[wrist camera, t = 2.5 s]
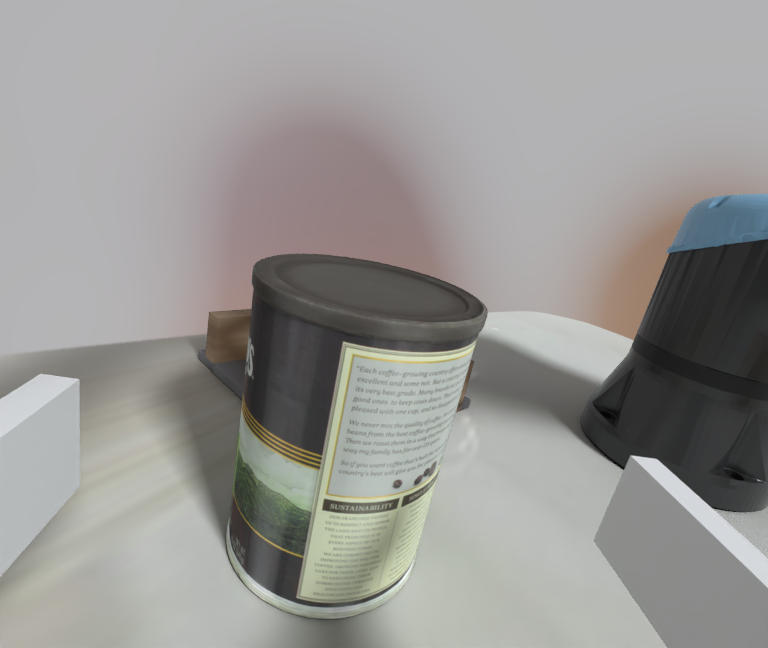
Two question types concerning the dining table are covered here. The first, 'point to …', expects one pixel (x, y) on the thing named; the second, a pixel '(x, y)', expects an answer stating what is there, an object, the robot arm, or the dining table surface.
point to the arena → (232, 345)
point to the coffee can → (343, 427)
